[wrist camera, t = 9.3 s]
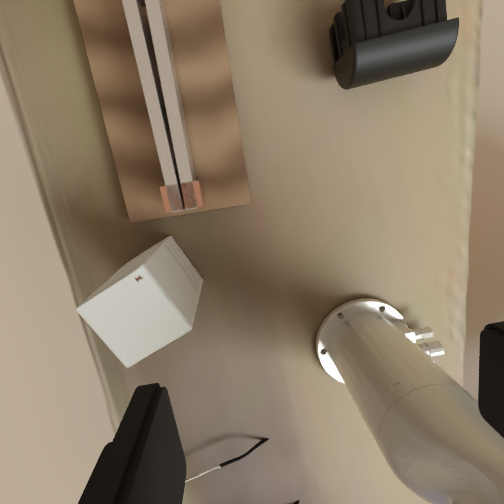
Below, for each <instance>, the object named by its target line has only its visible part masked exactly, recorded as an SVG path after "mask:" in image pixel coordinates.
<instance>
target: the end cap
mask: <svg viewBox="0 0 504 504" xmlns="http://www.w3.org/2000/svg"><path fill="white" fill-rule="evenodd" d="M342 13H343V17H342ZM342 13H341V12H338V13H337V14H336V15H335V17H334V19H333V20H334V24H332V26H331V27H330V29H329V34H330V40H331V47H332V53H333V59H334V65H333V69H334V73H335V77H336V79H337V82H338V84H339V85H340V86H341V87H342V88H343V89H351V88H355V87H359V86H363V85H367V84H371V83H375V82H379V81H383V80H386V79H390V78H394V77H398V76H402V75H406V74H410V73H414V72H418V71H422V70H426V69H430V68H434V67H437V66H440V65H441V64H442V63H444V62H445V61H446V60H447V58H448V57H449V55H450V54H451V52H452V50H453V48H454V46H455V43H456V40H457V35H458V29H459V18H455V19H451V20H447V13H446V0H406V1H402V2H399V3H395V4H391V5H389V6H388V7H387V10H385V7H384V0H345V2H344V3H343V5H342Z"/></svg>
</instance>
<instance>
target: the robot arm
mask: <svg viewBox="0 0 504 504" xmlns="http://www.w3.org/2000/svg"><path fill="white" fill-rule="evenodd" d="M339 313H340V314H339ZM338 314H339V315H338ZM432 337H433V331H432V329H431V328H430V327H425V328H419V329H416V330H412V329H409V328H408V326H407V324H406V322H405V319H404V318H403V317H402V315H401V314H400V313H399V312H398V311H397V310H396V309H395V308H393V307H392V306H391V305H389V304H388V303H386V302H383V301H381V300H377V299H372V298H361V299H356V300H352V301H349V302H346V303H344V304H342V305H340V306H339V307H337V308H336V309H334V310H333V311H332V312H331V313H330V314H329V315H328V316H327V317H326V318H325V320H324V321H323V323H322V324H321V326H320V328H319V331H318V334H317V338H316V352H317V356H318V359H319V361H320V363H321V365H322V367H323V368H324V370H325V371H326V372H327V373H328V374H329V375H330V376H331V377H332V378H334V379H336V380H337V381H339V382H342V383H345V385H346V387H347V389H348V391H349V392H350V394H351V396H352V398H353V400H354V402H355V404H356V405H357V407H358V409H359V411H360V413H361V415H362V416H363V418H364V420H365V422H366V424H367V426H368V427H369V429H370V431H371V433H372V435H373V437H374V439H375V440H376V442H377V444H378V446H379V448H380V450H381V452H382V454H383V456H384V457H385V459H386V461H387V463H388V465H389V466H390V468H391V469H392V471H393V472H394V474H395V475H396V476H397V477H398V479H399V480H400V481H401V482H402V483H403V484H404V485H405V486H406V487H407V488H409V489H410V490H411V491H412V492H413V493H415V494H416V495H418V496H419V497H421V498H422V499H424V500H426V501H427V502H429V503H431V504H504V321H503V322H497V323H492V324H488V325H486V326H485V328H484V330H483V331H482V332H481V334H480V357H479V393H478V394H479V395H478V401H477V400H476V399H475V398H474V397H473V396H472V395H471V394H470V393H469V392H468V391H466V390H465V389H464V388H463V387H462V386H461V385H460V384H459V383H458V382H457V381H456V380H455V379H453V378H452V377H451V376H450V375H449V374H448V373H447V372H446V371H445V370H444V369H443V368H442V367H440V366H439V365H438V364H437V363H436V362H435V361H434V360H433V359H432V358H431V357H437V356H442V355H443V354H444V349H443V346H442V344H441V343H440V342H439V341H437V340H436V341H431V342H425V343H423V344H418V345H417V344H415V342H416V340H419V339H427V338H432ZM185 480H186V460H185V456H184V452H183V449H182V445H181V441H180V437H179V433H178V429H177V426H176V422H175V418H174V414H173V410H172V407H171V403H170V399H169V395H168V391H167V389H166V387H160V385H159V383H153V384H148V385H142V386H138V387H137V388H136V389H135V392H134V394H133V396H132V399H131V401H130V403H129V405H128V408H127V410H126V412H125V414H124V417H123V419H122V421H121V423H120V426H119V428H118V430H117V432H116V435H115V437H114V439H113V442H110V443H108V444H107V445H106V446H105V447H104V449H103V451H102V453H101V455H100V457H99V459H98V461H97V463H96V466H95V468H94V470H93V472H92V475H91V476H90V478H89V481H88V483H87V485H86V487H85V489H84V491H83V494H82V496H81V498H80V500H79V502H78V504H182V500H183V493H184V486H185Z"/></svg>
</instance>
